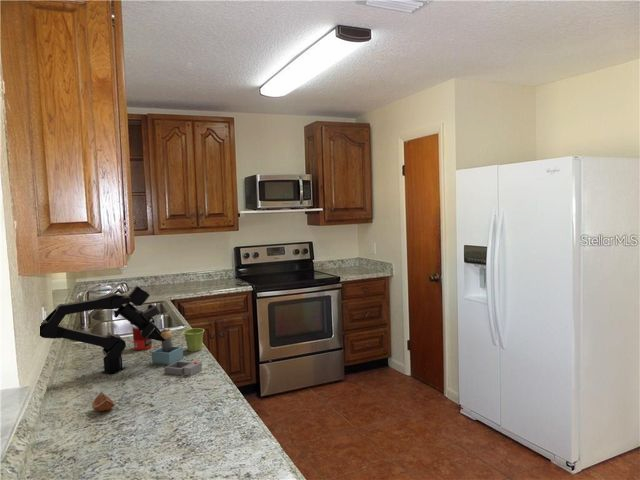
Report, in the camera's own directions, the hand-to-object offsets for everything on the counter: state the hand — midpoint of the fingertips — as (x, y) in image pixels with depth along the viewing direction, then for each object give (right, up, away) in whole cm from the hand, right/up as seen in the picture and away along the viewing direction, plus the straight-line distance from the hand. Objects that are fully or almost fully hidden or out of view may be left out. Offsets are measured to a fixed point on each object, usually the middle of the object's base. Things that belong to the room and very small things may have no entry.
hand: (163, 337), depth 200 cm
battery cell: (+2, -9, +1) cm, 10 cm away
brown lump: (-4, -14, -46) cm, 48 cm away
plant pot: (+9, -9, +16) cm, 20 cm away
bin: (+2, -10, +1) cm, 10 cm away
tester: (+12, -11, -12) cm, 20 cm away
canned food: (-16, -9, +21) cm, 28 cm away
